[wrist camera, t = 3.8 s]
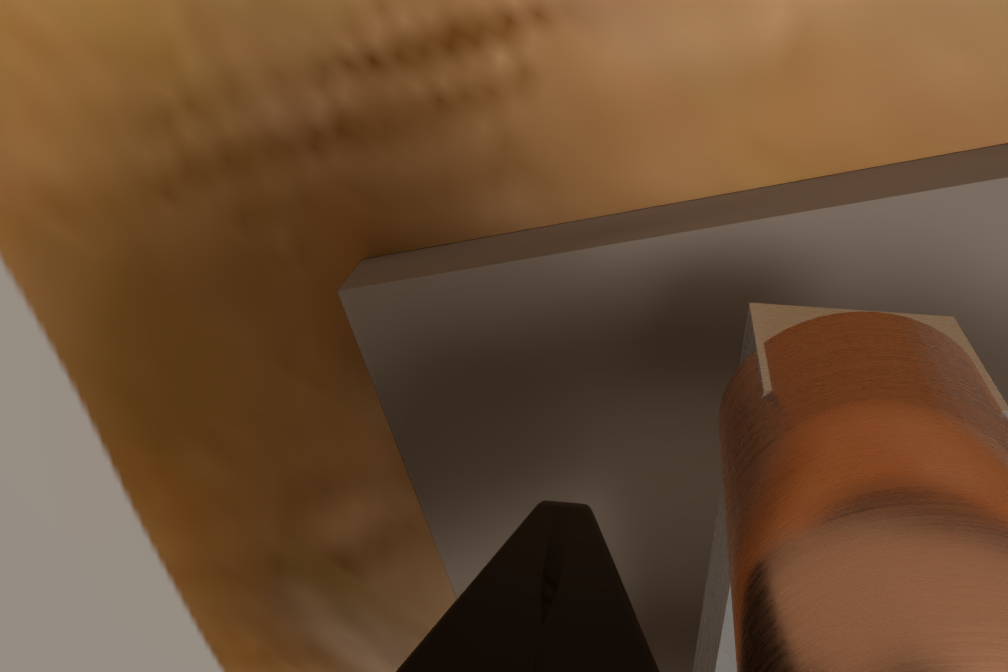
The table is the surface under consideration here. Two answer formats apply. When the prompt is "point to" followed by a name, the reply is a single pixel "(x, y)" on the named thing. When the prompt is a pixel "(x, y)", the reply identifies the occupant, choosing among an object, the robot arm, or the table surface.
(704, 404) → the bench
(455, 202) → the table surface
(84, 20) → the table surface
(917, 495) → the lever
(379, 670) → the table surface
